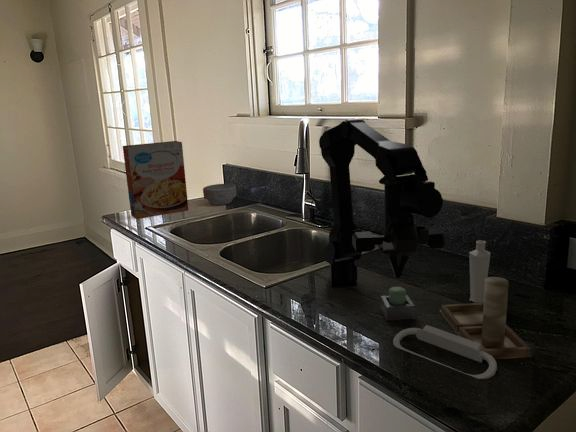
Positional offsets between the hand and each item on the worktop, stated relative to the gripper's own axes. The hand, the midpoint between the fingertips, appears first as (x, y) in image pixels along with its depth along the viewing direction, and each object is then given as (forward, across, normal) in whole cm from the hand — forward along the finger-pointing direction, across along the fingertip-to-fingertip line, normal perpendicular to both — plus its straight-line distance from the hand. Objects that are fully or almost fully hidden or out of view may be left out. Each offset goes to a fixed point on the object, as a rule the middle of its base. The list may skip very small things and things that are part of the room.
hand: (397, 277), depth 108 cm
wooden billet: (+8, +15, -16) cm, 23 cm away
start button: (+7, 0, 0) cm, 7 cm away
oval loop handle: (+10, +4, -18) cm, 21 cm away
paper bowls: (+10, -51, +126) cm, 136 cm away
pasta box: (+10, -76, +112) cm, 136 cm away
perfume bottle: (+10, +20, +4) cm, 23 cm away
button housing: (+9, 0, 0) cm, 9 cm away
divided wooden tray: (+9, +15, -10) cm, 20 cm away
